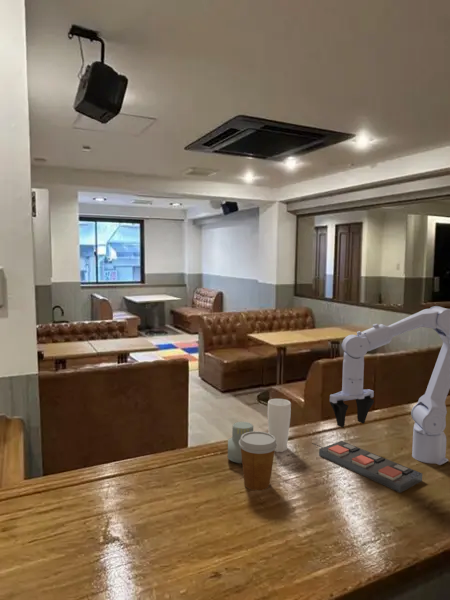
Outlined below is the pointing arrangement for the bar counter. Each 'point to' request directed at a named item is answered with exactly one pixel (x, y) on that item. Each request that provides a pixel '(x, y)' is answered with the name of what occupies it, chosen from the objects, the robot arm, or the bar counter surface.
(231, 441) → the air freshener
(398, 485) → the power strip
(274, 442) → the disposable coffee cup
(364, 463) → the button
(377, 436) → the bar counter surface
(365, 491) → the bar counter surface
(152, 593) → the bar counter surface
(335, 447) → the button
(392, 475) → the button
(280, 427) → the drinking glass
